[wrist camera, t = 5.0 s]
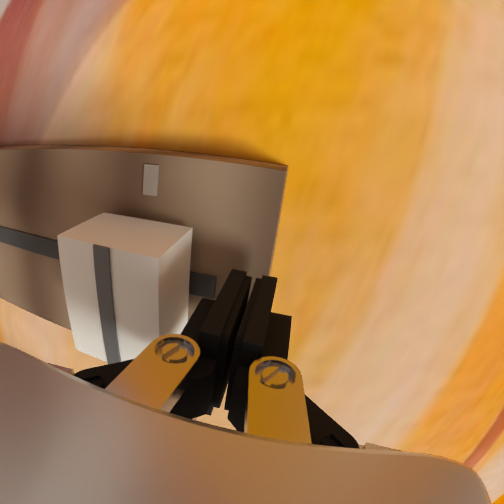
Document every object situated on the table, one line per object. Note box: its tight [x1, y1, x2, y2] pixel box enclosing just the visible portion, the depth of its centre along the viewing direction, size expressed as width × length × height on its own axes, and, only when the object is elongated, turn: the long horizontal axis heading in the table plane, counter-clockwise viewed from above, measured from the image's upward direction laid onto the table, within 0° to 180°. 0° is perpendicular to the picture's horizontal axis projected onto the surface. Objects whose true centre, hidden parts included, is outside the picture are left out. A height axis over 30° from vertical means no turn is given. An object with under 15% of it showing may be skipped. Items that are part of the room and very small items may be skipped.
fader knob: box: [57, 212, 193, 364], centre depth 11 cm, size 4×5×3 cm
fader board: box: [0, 145, 288, 330], centre depth 14 cm, size 24×10×2 cm, turn 82°
